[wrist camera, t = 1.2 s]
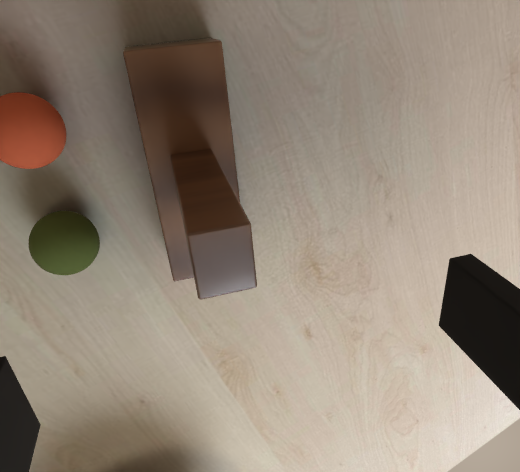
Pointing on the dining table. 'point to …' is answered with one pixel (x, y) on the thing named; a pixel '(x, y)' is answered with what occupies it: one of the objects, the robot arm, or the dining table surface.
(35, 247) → the ball
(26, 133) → the ball
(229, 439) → the dining table surface
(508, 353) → the robot arm
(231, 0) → the dining table surface
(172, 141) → the brush
